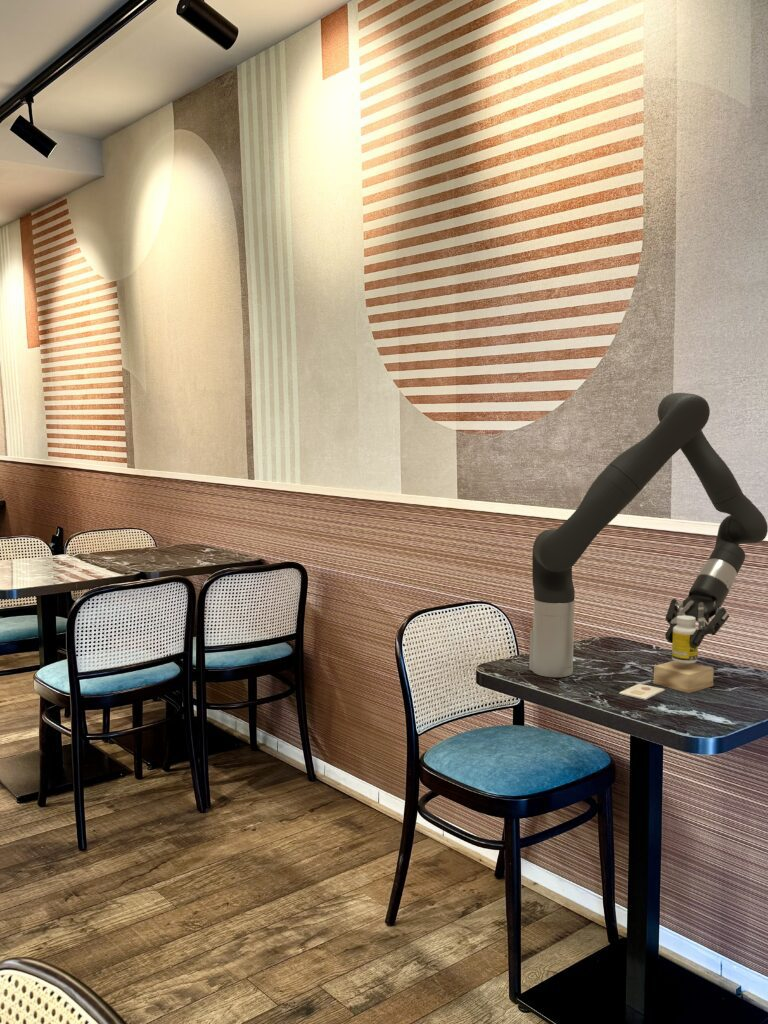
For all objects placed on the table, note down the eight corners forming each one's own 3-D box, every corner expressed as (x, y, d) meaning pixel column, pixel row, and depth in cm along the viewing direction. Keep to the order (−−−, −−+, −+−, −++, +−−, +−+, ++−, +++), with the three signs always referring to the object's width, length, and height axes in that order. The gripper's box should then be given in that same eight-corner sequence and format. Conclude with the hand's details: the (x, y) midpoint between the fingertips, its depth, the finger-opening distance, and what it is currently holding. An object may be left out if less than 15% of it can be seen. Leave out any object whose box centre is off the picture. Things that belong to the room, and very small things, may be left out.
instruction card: (619, 693, 193) (619, 692, 193) (638, 684, 199) (639, 683, 199) (645, 699, 189) (645, 697, 189) (664, 690, 195) (664, 688, 195)
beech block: (652, 683, 201) (653, 665, 200) (677, 676, 206) (678, 659, 206) (688, 693, 193) (689, 675, 193) (713, 685, 199) (714, 668, 198)
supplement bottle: (691, 665, 196) (693, 621, 195) (667, 661, 199) (668, 617, 198) (701, 660, 200) (702, 616, 199) (677, 656, 203) (678, 613, 202)
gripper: (679, 569, 208) (645, 627, 202) (736, 577, 196) (702, 639, 190) (692, 589, 211) (659, 646, 205) (748, 598, 200) (716, 660, 194)
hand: (680, 643), depth 198 cm, fingers closed on supplement bottle, 5 cm apart
